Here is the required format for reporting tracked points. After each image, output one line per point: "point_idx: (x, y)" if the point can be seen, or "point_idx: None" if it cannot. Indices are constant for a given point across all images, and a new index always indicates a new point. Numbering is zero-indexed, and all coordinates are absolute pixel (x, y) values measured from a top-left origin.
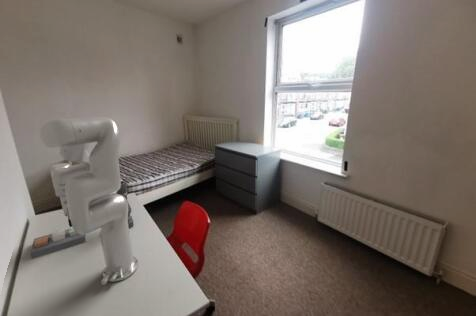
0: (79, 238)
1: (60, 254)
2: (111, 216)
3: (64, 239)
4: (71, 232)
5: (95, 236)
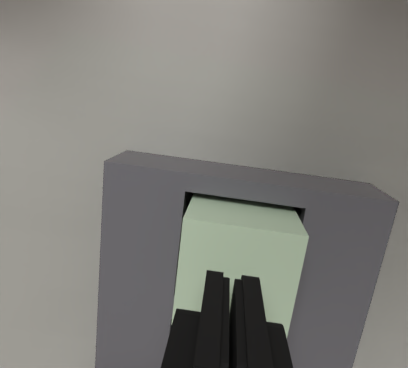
0: (383, 245)
1: (397, 356)
2: None
3: (292, 349)
4: (289, 319)
5: (342, 91)
